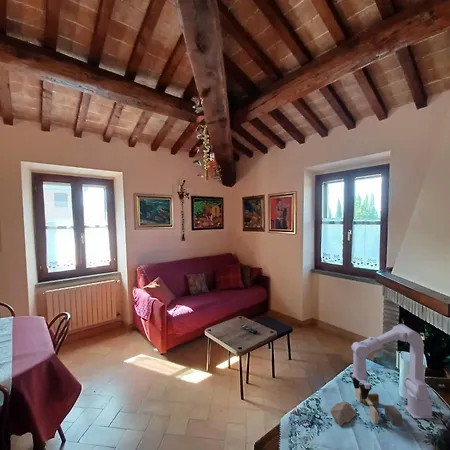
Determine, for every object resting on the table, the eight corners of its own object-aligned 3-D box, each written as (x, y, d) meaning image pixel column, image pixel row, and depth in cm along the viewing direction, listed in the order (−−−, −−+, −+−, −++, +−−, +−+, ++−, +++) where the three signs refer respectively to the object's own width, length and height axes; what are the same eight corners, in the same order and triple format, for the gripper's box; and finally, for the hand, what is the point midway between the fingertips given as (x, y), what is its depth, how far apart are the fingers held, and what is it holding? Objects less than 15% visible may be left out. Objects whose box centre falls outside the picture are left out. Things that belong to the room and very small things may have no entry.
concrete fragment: (359, 417, 123) (358, 405, 123) (340, 428, 117) (340, 415, 117) (346, 408, 129) (346, 396, 129) (328, 418, 123) (327, 406, 123)
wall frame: (358, 395, 138) (358, 384, 138) (378, 423, 119) (377, 410, 119) (355, 395, 138) (355, 384, 138) (375, 423, 119) (374, 410, 119)
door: (362, 402, 133) (362, 393, 132) (377, 402, 132) (377, 393, 132) (364, 406, 130) (364, 396, 130) (380, 406, 130) (380, 396, 130)
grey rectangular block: (393, 415, 124) (393, 405, 124) (402, 424, 118) (401, 414, 118) (384, 415, 124) (384, 405, 124) (392, 424, 118) (392, 414, 118)
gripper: (345, 359, 133) (346, 383, 133) (359, 376, 118) (359, 403, 119) (358, 359, 133) (359, 383, 133) (374, 375, 118) (374, 403, 118)
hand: (360, 393), depth 126 cm, fingers open, 7 cm apart
